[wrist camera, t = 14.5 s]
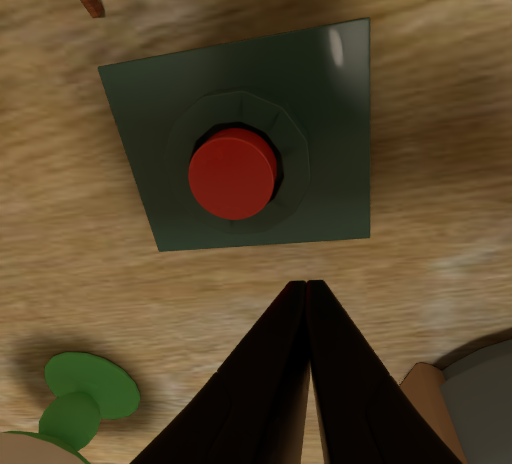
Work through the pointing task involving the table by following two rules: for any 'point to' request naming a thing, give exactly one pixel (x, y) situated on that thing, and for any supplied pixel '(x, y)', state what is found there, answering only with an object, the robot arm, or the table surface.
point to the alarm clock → (468, 403)
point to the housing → (260, 122)
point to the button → (233, 174)
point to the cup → (72, 410)
